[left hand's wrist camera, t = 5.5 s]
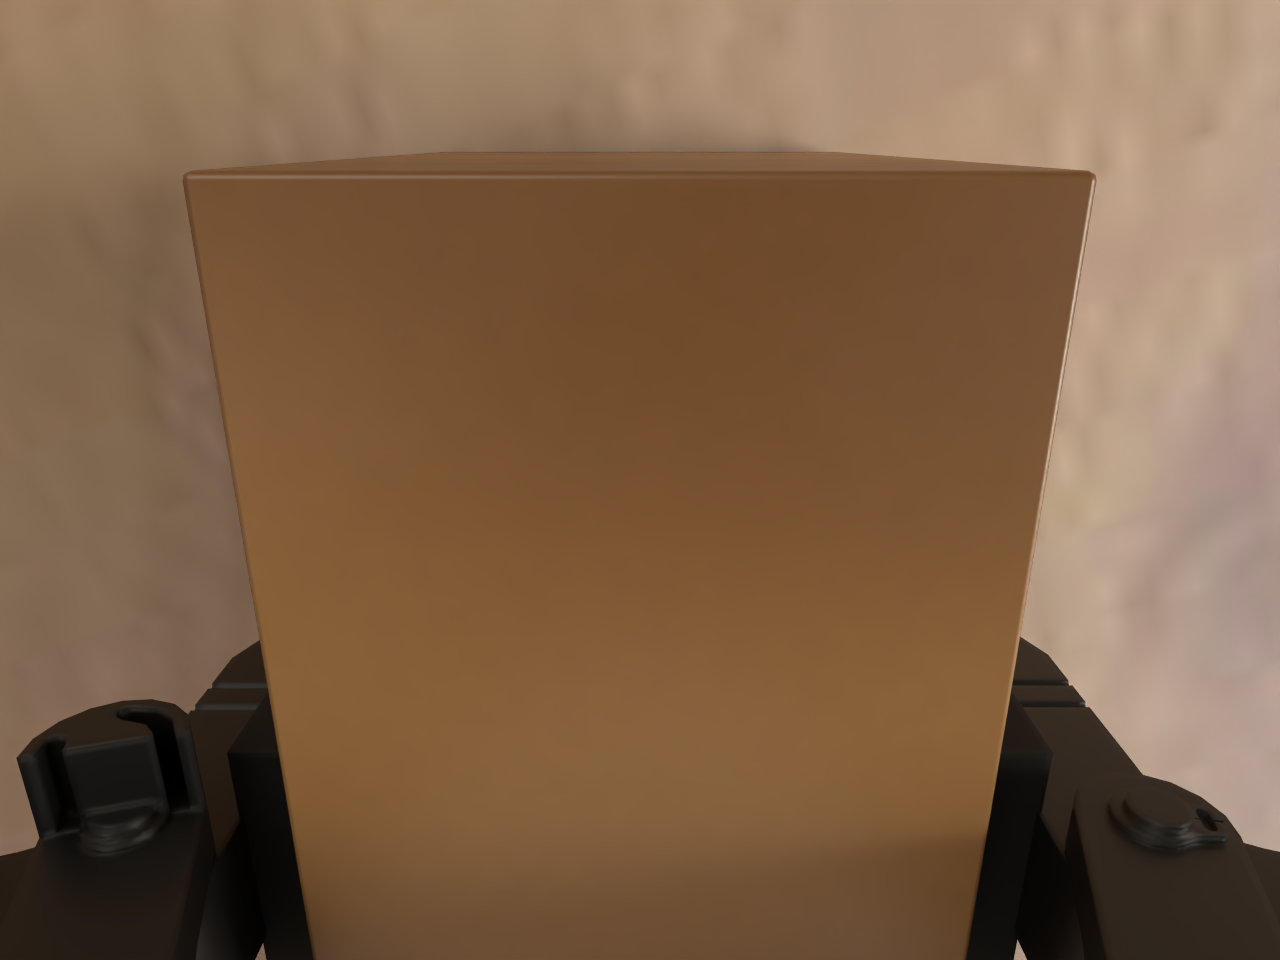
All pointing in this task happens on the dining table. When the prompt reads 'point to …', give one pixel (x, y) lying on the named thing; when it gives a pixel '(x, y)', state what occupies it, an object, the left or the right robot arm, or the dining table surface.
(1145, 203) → the dining table surface
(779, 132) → the dining table surface
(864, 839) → the bar
